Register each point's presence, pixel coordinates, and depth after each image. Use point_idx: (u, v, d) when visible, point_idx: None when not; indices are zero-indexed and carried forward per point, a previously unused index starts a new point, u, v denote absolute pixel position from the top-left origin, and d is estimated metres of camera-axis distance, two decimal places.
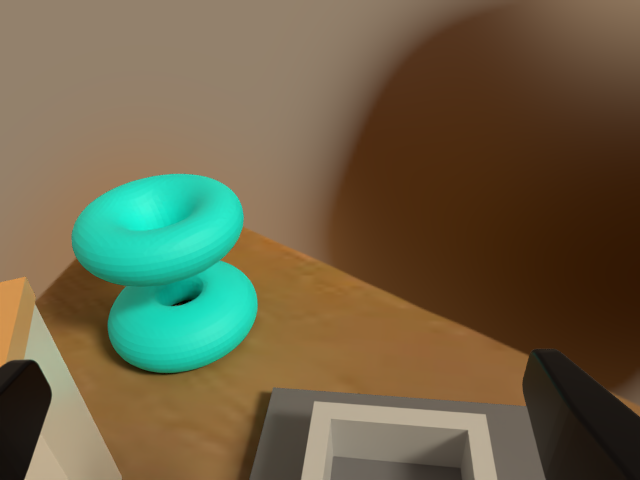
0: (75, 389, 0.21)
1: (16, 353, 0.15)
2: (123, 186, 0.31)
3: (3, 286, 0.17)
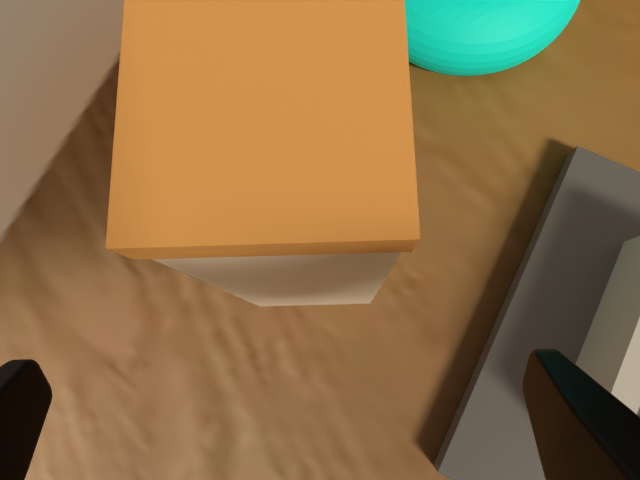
0: None
1: None
2: None
3: None
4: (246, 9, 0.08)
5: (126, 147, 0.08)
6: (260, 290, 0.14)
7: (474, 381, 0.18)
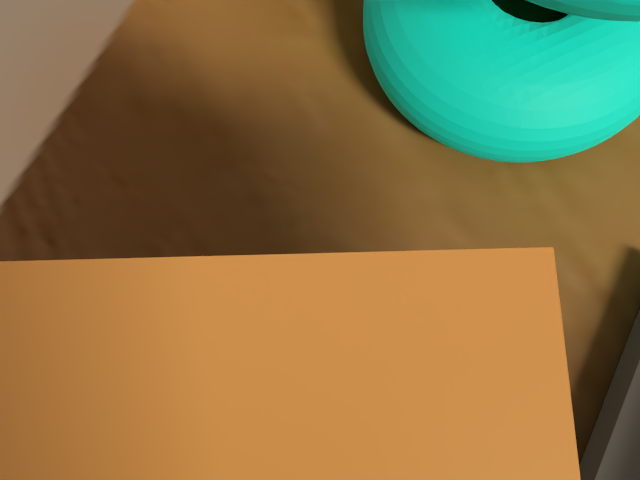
0: None
1: None
2: None
3: (429, 302, 0.03)
4: (66, 390, 0.03)
5: None
6: None
7: None
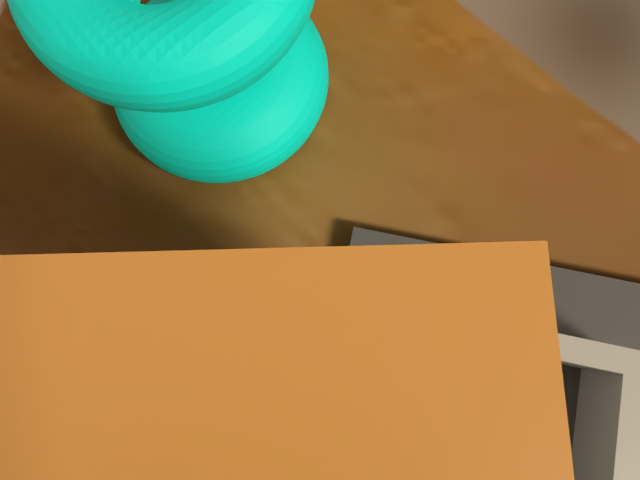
0: None
1: None
2: None
3: (424, 296, 0.03)
4: (64, 384, 0.03)
5: None
6: None
7: None
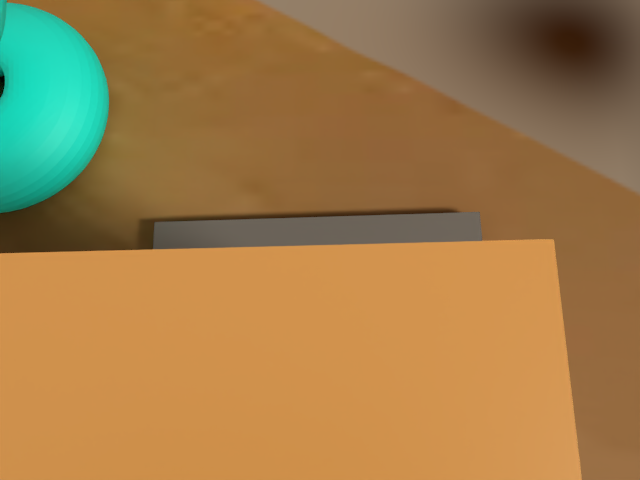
0: None
1: None
2: None
3: (430, 293, 0.03)
4: (69, 380, 0.03)
5: None
6: None
7: None
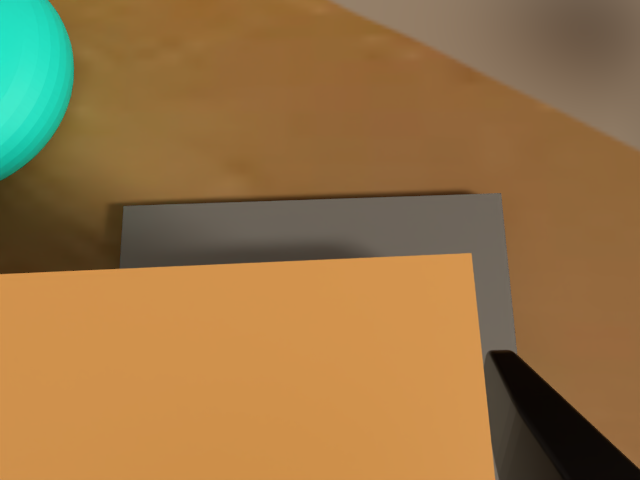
0: None
1: None
2: None
3: (393, 290, 0.04)
4: (160, 352, 0.04)
5: None
6: None
7: None
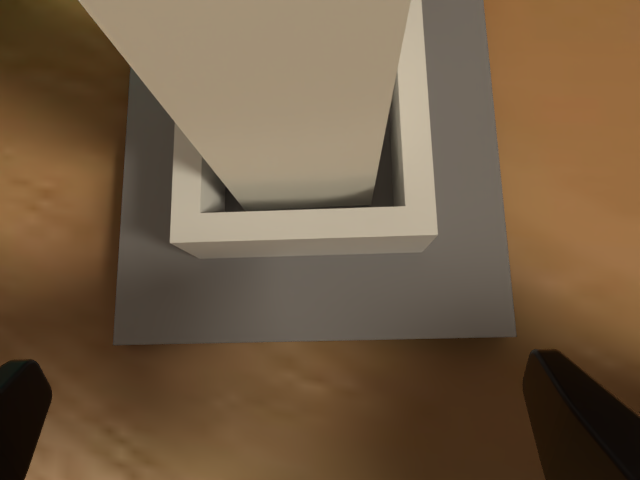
0: None
1: None
2: None
3: None
4: None
5: None
6: (239, 148, 0.12)
7: (123, 248, 0.18)
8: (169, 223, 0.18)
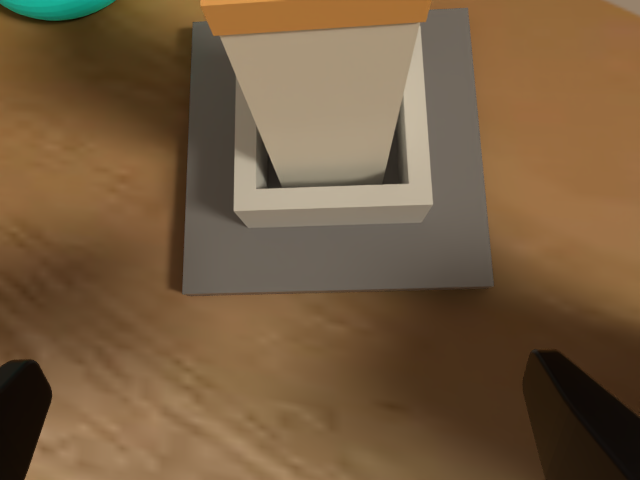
0: None
1: None
2: None
3: None
4: None
5: None
6: (292, 138, 0.17)
7: (187, 220, 0.23)
8: (224, 201, 0.23)
